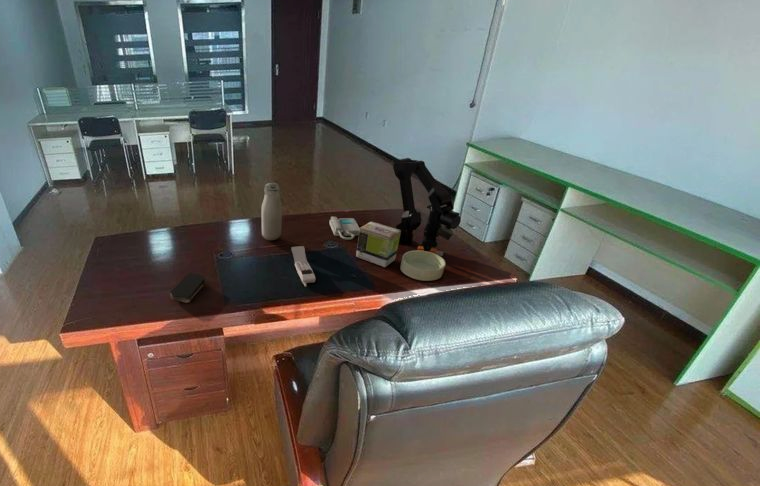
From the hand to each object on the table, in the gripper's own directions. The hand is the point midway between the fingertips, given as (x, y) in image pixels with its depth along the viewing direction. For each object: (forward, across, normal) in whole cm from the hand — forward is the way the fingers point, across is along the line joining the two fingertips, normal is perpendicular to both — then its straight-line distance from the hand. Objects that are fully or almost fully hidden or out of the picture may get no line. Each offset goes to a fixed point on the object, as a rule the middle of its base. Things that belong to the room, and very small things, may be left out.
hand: (426, 251), depth 182 cm
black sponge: (+1, -68, +86) cm, 110 cm away
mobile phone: (+1, -36, +48) cm, 60 cm away
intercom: (+1, +8, +39) cm, 40 cm away
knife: (+1, 0, -2) cm, 2 cm away
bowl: (+1, -17, +1) cm, 17 cm away
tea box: (+1, -13, +21) cm, 25 cm away
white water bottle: (+1, -12, +72) cm, 73 cm away
